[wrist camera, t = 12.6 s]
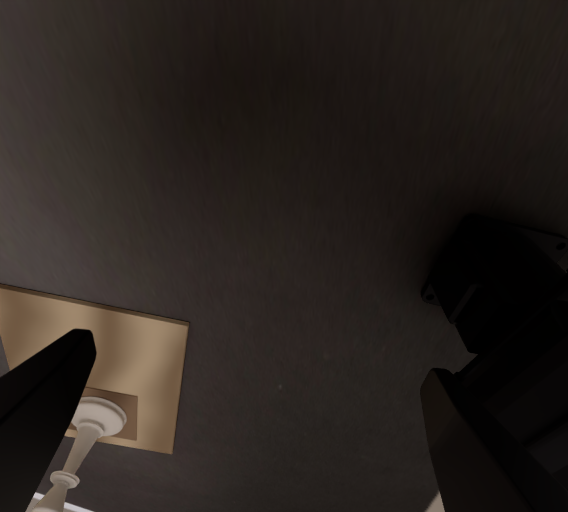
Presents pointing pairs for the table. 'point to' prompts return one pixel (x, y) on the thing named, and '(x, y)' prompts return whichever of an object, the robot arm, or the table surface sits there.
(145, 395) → the board
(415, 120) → the table surface
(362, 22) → the table surface
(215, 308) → the table surface
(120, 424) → the chess piece
